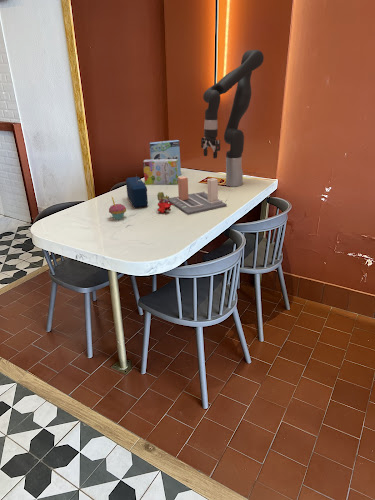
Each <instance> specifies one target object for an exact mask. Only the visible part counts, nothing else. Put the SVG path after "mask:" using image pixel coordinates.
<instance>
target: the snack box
mask: <svg viewBox="0 0 375 500" xmlns="http://www.w3.org/2000/svg"><path fill="white" fill-rule="evenodd" d="M142 164H143V165H142V166H143V167H142V168H143V175H144V184H145V185H146V186H147V185H149V186H150V185H178V177H179V175H178V161H177V159H158V160H151V159H144V160H143V161H142Z"/></svg>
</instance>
